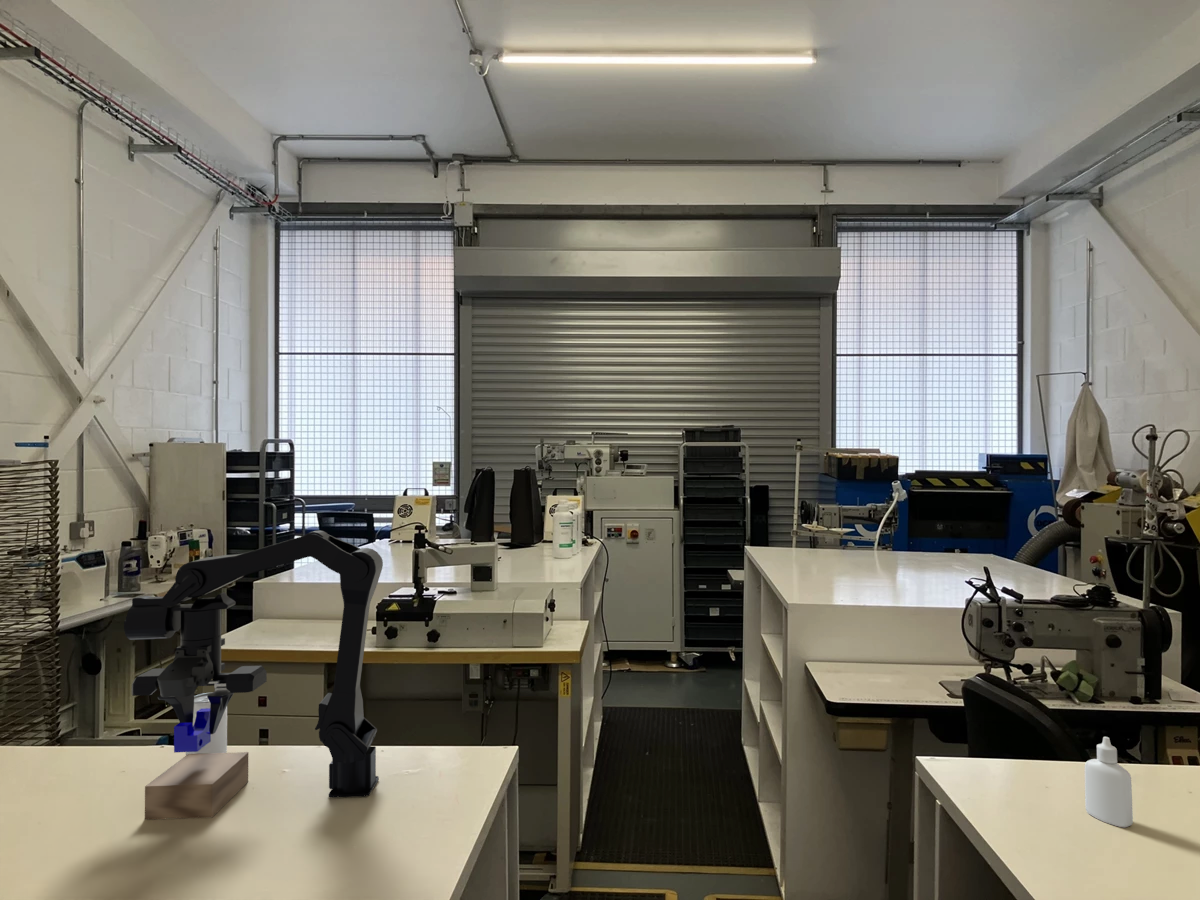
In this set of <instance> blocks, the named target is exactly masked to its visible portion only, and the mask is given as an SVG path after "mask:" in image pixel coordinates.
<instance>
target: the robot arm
mask: <svg viewBox="0 0 1200 900" xmlns="http://www.w3.org/2000/svg"><path fill="white" fill-rule="evenodd" d="M309 557H311V558H313V559H315V560H316V561H318V562H319V563H320V564H322V565H324V566H325V567H327V568H328V569H329V570H331V571H332V572H335V573H337V574H339V582H340V583H339V584H340V585H339V586H340V592H341V597H342V600H343V611H342V618H341V627H340V635H339V644H338V652H337V660H336V665H335V673H334V682H333V689H332V692H327V694H326V695H325V696H324V697H323V699H321V701H320V702H319V704H318V710H317V711H318V720H317V724H316V726H315V728H314V731H317V730H318V738H319V741H320V742H321V743H322V744H323V745H324V746H325V747H326V748H328V751H329V753H330V756H331V758H332V761H331V762H330V763H329V764H328V788H329V790H330V791H329V793H328V798H331V799H332V798H355V797H363V798H364V797H368V796H370V795H371V793H372V792H373V789H374V788H375V786H376V785H377V783H378V781H379V778H380V777H379V776H378V775H377V772H376V771H377V770H376V769H377V767H376V766H377V765H376V764H377V761H376V759H377V757H376V755H377V754H376V753H377V749H376V748H377V747H376V746H371V745H372V743H373V741H374V740H375V737H376V733H377V732H378V728H377V727H376V726H375V725H373V723H371V722H370V721H369V719H367V718H366V717H365V716H364V700H363V699H364V698H363V696H362V690H361V678H362V671H363V662H364V654H365V647H366V639H367V638H366V637H367V630H368V623H369V614H370V606H371V601H372V599H373V596H374V594H375V591H376V589H377V585H378V583H379V580H380V576H381V573H382V570H383V565H384V564H383V563H384V562H383V557H382V556H381V555H380V554H379V552H378V551H377V550H375V549H373V548H369V547H361V548H360V547H359V546H356V545H355V544H352V543H349V542H347V541H346V540H345V541H344V540H342V539H340V538H336V537H335V536H333V535H330V534H328V532H326V531H324V530H320V529H319V530H314V531H310V532H308V533H306V534H304V535H303V536H298V537H295V538H291V539H288V540H285V541H281V542H278V543H274V544H271V545H268V546H265V547H264V546H263V547H262V548H261V547H260V548H258V549H255V550H254V549H253V550H251V551H247V552H243V553H238V554H237V553H235V554H224V555H223V554H222V555H217V556H209V557H203V558H200V559H196V560H193V561H189V562H186V563H184V564H182V565H181V566H180V567H179V568H178V570H177V571H176V575H175V578H174V580H175V582H174V583H173V584H172V585H171V587H170V588H169V589H168V591H167V592H166V593H165V595H164V596H149V595H138V596H136V597H133V598H132V599H131V606H130V608H129V609H128V611H127V613H126V616H125V620H124V621H123V631H124V635H125V636H126V638H127V639H128V640H131V641H133V640H137V641H138V640H155V639H170V638H172V637H173V636H174V635H175V633H176V632H179V631H180V645H178V646H177V647H176V648H175V651H174V659H173V660H172V662H171V663H169V664H168V665H167V666H166V667H165V668H161V667H160V668H152V669H149V670H147V671H146V672H143V673H141V674H139V675H137V676H136V677H135V678H134V679H133V681H132V683H131V696H134V697H136V696H140V697H141V696H142V697H143V696H151V695H153V693H154V694H155V692H156V691H157V690H158V688H159V692H160V695H158V696H157V699H158V700H159V701H165V702H166V703H168V704H169V705H170V706H171V707H172V708H173V710H174V713H175V715H176V717H177V720H178V722H179V723H192V722H193V712H194V696H195V693H196V691H197V688H198V687H207V686H209V687H210V686H211V687H212V686H213V687H214V691H213V693H211V692H210V693H211V694H210V695H208V696H207V697H208V699H209V701H210V703H211V706H210V724H209V727H210V734H214V733H215V732H216V730H217V728H218V725H219V723H220V721H221V718H222V716H223V714H224V711H225V709H226V707H227V708H228V705H229V703H230V701H231V699H232V697H233V696H234V694H240V693H246V694H247V693H252V692H254V691H255V690H257V689H258V688H260V687H261V686H262V685H264V684H266V682H267V670H266V669H265V667H264V666H263V665H244V666H243V665H242V666H239V667H238V668H236V669H234V670H233V671H232V672H222V671H224V670H226V663H225V662H222V646H225V645H226V637H225V638H224V637H223V638H222V610H227V609H229V608H231V607H233V606H235V605H236V601H235V600H234V599H233V598H232V597H230V596H228V594H227V593H226V592H220V593H219V594H216V596H215V597H202V596H206V595H207V594H209V593H212V592H214V591H216V590H219V589H222V588H224V587H226V586H227V585H229V584H231V583H233V582H235V581H237V580H239V579H242V578H243V577H245V576H249V575H252V574H256V573H259V572H262V571H266V570H268V569H272V568H275V567H279V566H282V565H285V564H289V563H292V562H295V561H299V560H302V559H305V558H309ZM193 598H196V600H194V601H193V603H185V604H182V603H184V602H185V601H188V600H191V599H193Z"/></svg>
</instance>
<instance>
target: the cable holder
mask: <svg viewBox="0 0 1200 900" xmlns="http://www.w3.org/2000/svg"><path fill="white" fill-rule="evenodd" d="M209 724H210V708H205V709H200V710H199V711H197V713H196V720H195V723H194V726H193V722H192V723H180V722H179V723H177V724H176V725H174V727H173V746H174V747H173V753H186V752H197V751H199V750H200V749H201V748H203V747H204V746H205V745H207V744H208V743H209V742H211V734H210V727H209Z"/></svg>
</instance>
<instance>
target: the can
mask: <svg viewBox="0 0 1200 900" xmlns="http://www.w3.org/2000/svg"><path fill="white" fill-rule="evenodd" d="M213 692H214V691H213ZM213 692H211V691H210V692H206V693H205V692H204V693H199V694H197V695H194V712H193V726H194V723H195V720H196V713H197V711H199V710H200V709H205V708H210V706H211V703H210V701H209V699H208V697H207V696H208V695H210V694H211V693H213ZM202 753H228V706H227V707H226V709H225V711H224V714H223V716H222V718H221V721H220V723H219V725H218V728H217V730H216V732H215V733H214V734H211V742H209V743H208V744H207V745H205V746H204V747H203V748H201V749H200V750H199V751H197V752H185V756H186V755H187V754H202Z"/></svg>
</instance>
